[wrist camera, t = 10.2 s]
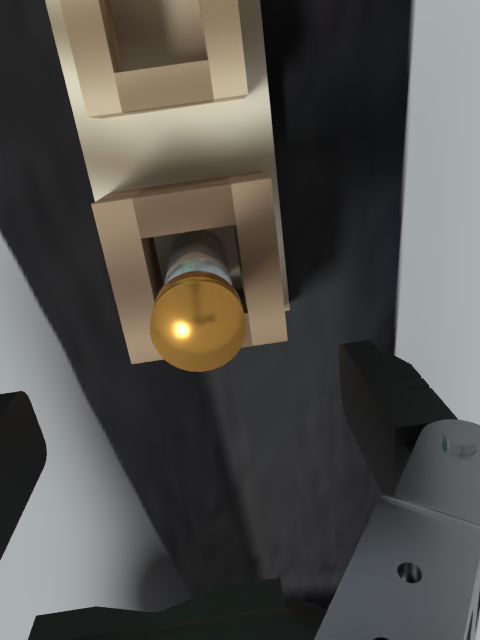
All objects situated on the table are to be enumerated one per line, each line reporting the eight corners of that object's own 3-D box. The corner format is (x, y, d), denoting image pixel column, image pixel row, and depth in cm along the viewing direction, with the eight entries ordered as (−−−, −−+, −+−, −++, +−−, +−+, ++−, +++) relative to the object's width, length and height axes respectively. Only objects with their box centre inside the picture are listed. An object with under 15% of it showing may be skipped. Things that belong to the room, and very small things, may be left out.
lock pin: (162, 230, 25) (140, 291, 16) (224, 221, 25) (239, 277, 16) (173, 289, 26) (160, 377, 17) (232, 280, 26) (251, 363, 17)
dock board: (39, -45, 21) (-8, -95, 16) (249, -73, 21) (262, -131, 16) (130, 327, 28) (115, 366, 23) (287, 304, 28) (303, 338, 23)
